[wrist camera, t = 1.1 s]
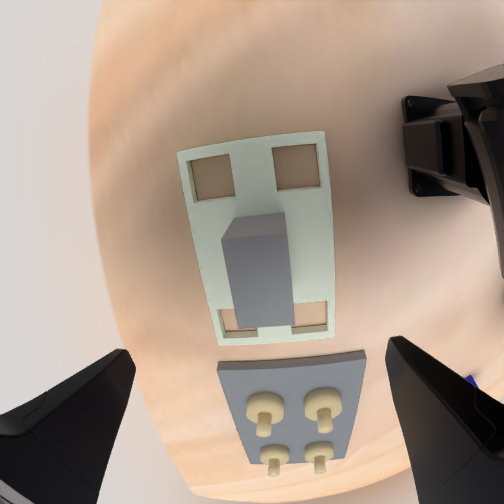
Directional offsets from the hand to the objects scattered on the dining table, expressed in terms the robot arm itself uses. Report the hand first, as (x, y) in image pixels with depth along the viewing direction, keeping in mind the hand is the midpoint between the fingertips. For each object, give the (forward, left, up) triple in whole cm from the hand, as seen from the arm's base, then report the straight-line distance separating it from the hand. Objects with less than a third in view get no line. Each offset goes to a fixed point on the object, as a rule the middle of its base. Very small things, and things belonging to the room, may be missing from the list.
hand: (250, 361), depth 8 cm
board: (0, 0, -10) cm, 10 cm away
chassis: (-1, +19, -10) cm, 22 cm away
